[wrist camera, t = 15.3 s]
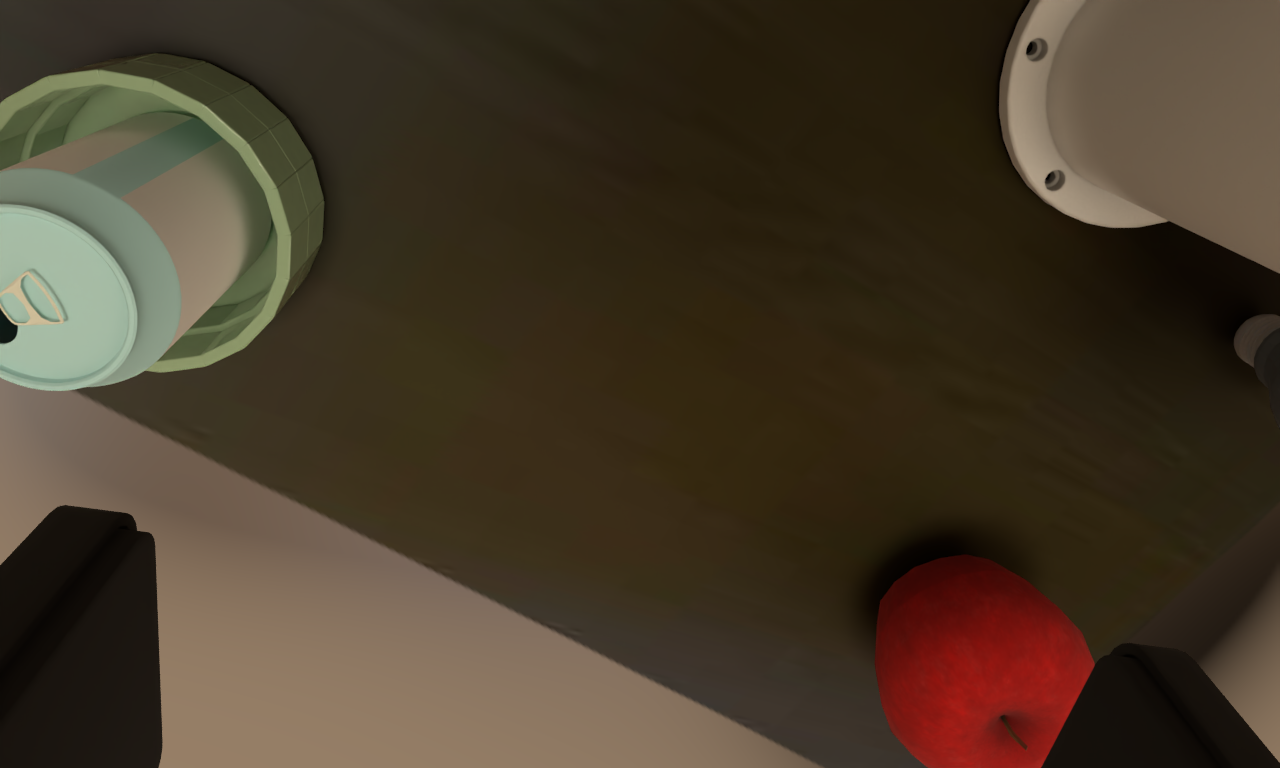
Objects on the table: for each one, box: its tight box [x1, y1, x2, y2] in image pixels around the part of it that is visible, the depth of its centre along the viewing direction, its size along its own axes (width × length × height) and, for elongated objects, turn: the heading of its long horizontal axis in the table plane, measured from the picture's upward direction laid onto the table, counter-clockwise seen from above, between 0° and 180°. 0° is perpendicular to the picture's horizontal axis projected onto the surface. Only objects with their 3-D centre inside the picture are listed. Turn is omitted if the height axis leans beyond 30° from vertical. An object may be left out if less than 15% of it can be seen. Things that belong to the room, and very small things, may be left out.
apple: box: [875, 555, 1095, 768], centre depth 45 cm, size 10×10×11 cm
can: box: [0, 112, 271, 391], centre depth 32 cm, size 7×7×12 cm
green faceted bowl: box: [0, 53, 324, 373], centre depth 35 cm, size 11×11×6 cm
